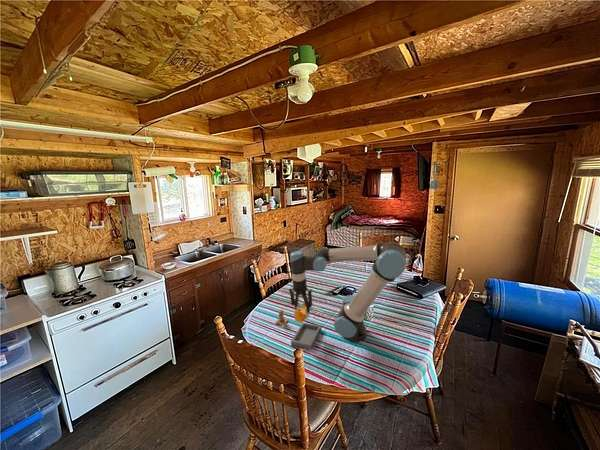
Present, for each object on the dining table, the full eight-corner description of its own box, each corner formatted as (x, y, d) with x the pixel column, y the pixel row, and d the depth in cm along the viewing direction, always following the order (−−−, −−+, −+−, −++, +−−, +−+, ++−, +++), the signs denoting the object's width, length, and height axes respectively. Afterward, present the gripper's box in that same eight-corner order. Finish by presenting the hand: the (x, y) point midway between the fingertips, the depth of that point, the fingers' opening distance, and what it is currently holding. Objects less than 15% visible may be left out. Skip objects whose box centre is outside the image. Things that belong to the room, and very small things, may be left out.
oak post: (287, 320, 162) (287, 309, 160) (283, 325, 156) (283, 314, 155) (279, 318, 164) (278, 308, 162) (275, 324, 159) (274, 313, 157)
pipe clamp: (301, 322, 136) (300, 312, 135) (295, 321, 138) (294, 310, 137) (311, 311, 146) (311, 301, 145) (305, 309, 148) (304, 300, 147)
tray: (321, 330, 150) (321, 325, 149) (311, 350, 134) (311, 345, 133) (303, 326, 154) (302, 322, 154) (291, 345, 138) (290, 340, 138)
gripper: (316, 277, 137) (319, 314, 141) (287, 275, 143) (291, 311, 148) (311, 283, 130) (315, 322, 135) (282, 280, 137) (286, 318, 141)
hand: (303, 316), depth 141 cm, fingers closed on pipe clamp, 5 cm apart
